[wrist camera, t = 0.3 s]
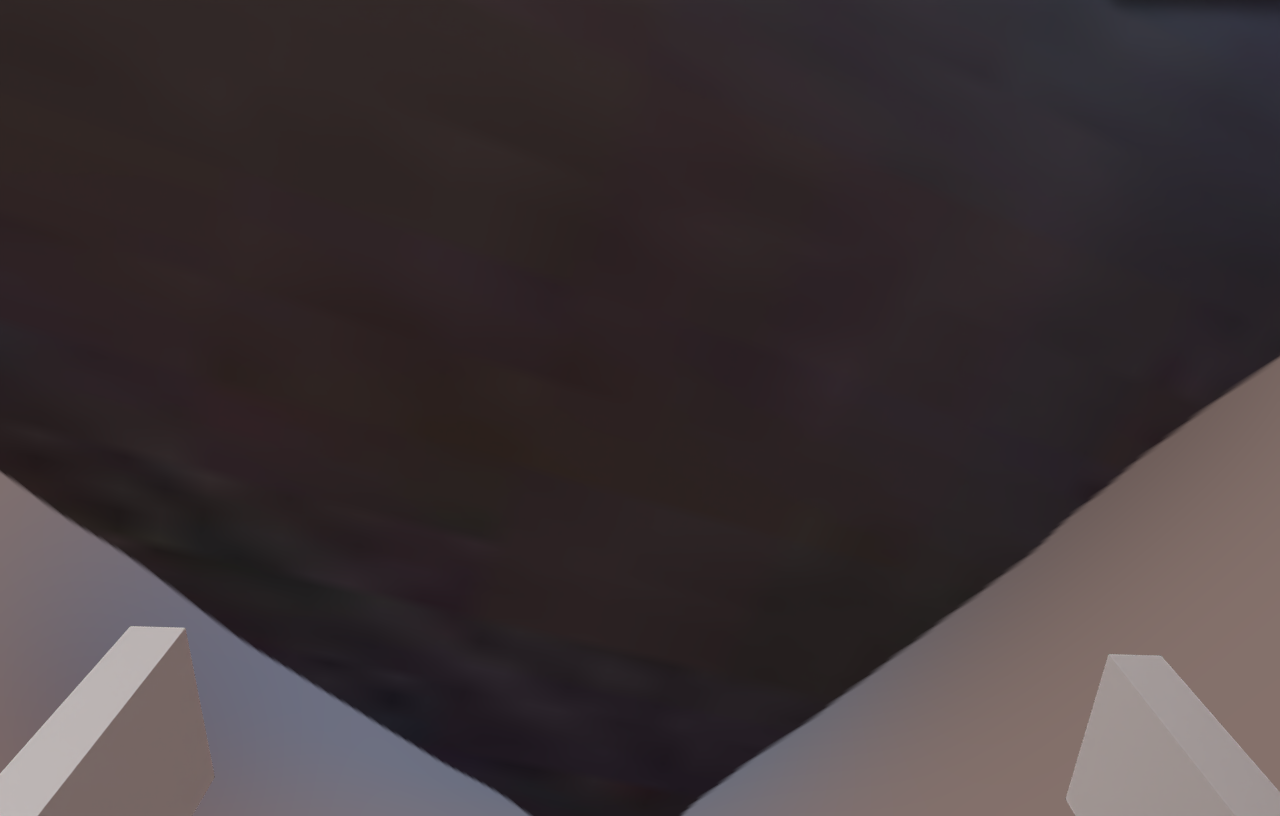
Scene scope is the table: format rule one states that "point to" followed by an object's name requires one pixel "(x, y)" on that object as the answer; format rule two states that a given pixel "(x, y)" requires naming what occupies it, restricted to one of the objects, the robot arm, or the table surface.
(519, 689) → the table surface
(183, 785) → the robot arm
